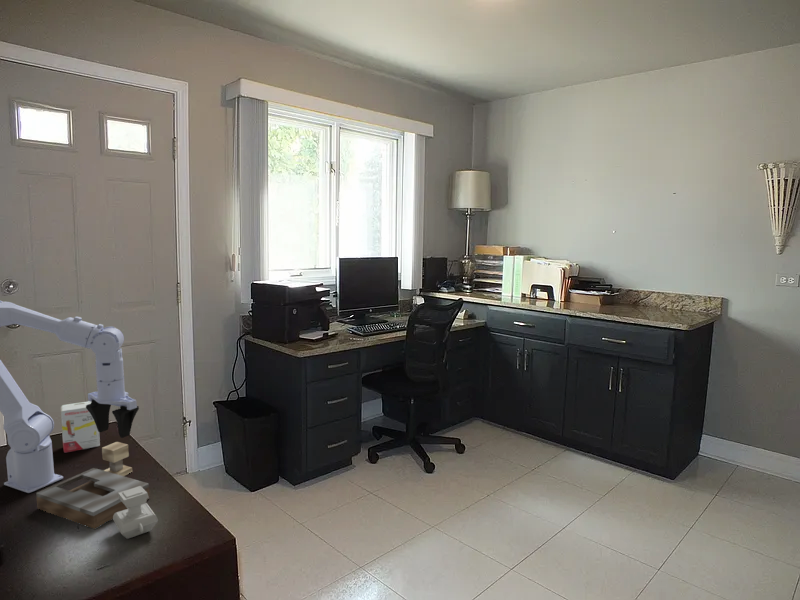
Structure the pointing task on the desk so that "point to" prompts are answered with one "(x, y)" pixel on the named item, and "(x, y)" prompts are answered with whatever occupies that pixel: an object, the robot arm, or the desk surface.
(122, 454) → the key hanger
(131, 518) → the stamp
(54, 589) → the desk surface
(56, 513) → the keyhole base
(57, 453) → the desk surface
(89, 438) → the ink box
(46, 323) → the robot arm
